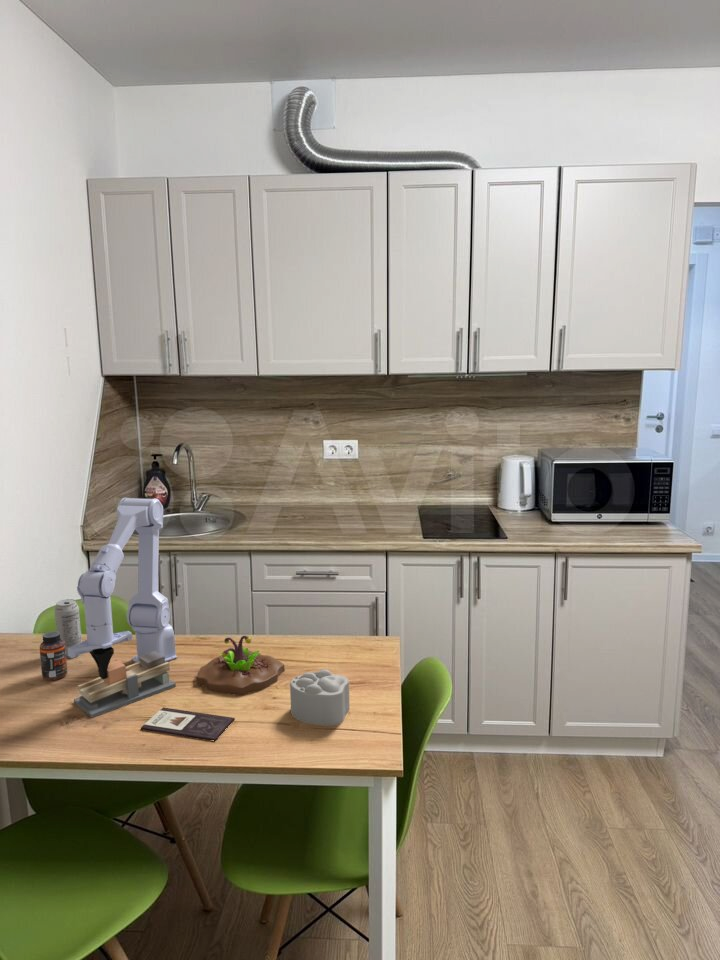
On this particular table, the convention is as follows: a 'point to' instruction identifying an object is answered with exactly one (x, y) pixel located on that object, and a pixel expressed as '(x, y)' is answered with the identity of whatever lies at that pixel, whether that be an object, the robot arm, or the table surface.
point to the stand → (126, 694)
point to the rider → (115, 672)
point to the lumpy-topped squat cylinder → (320, 698)
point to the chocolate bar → (188, 724)
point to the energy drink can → (68, 623)
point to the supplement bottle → (53, 656)
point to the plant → (239, 670)
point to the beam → (143, 669)
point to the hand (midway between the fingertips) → (103, 677)
